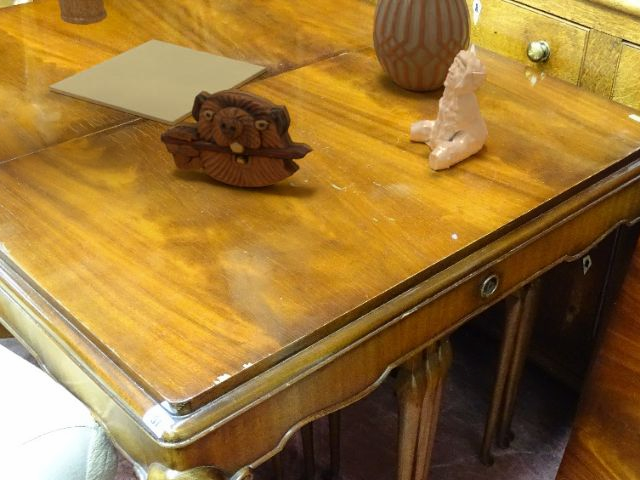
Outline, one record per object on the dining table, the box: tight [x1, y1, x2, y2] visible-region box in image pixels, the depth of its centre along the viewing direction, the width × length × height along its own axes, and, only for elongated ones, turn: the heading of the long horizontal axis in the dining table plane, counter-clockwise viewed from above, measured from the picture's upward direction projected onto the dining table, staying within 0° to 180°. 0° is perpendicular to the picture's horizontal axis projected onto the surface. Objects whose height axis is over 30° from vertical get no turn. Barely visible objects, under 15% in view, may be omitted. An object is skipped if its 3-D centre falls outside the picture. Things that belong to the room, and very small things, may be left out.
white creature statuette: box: [409, 49, 490, 171], centre depth 89 cm, size 10×9×12 cm
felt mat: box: [48, 39, 268, 127], centre depth 104 cm, size 20×20×1 cm
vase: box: [372, 0, 472, 92], centre depth 102 cm, size 13×13×18 cm
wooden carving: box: [160, 88, 314, 188], centre depth 82 cm, size 16×5×10 cm, turn 82°
